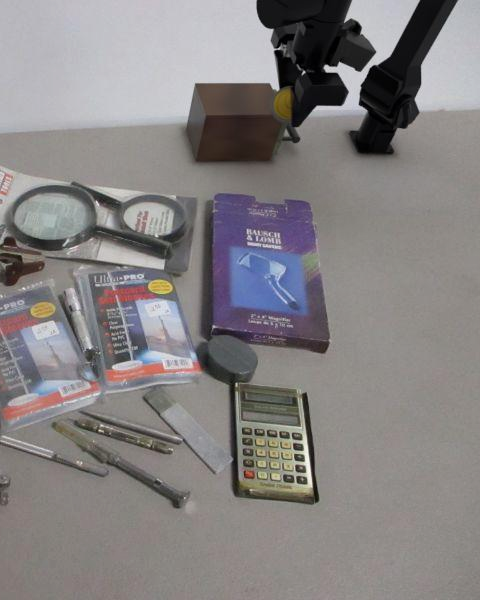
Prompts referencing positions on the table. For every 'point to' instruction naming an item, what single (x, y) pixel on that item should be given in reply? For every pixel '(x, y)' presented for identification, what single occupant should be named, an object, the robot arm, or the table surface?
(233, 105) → the cabinet
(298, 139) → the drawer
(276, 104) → the yellow tiered knob
